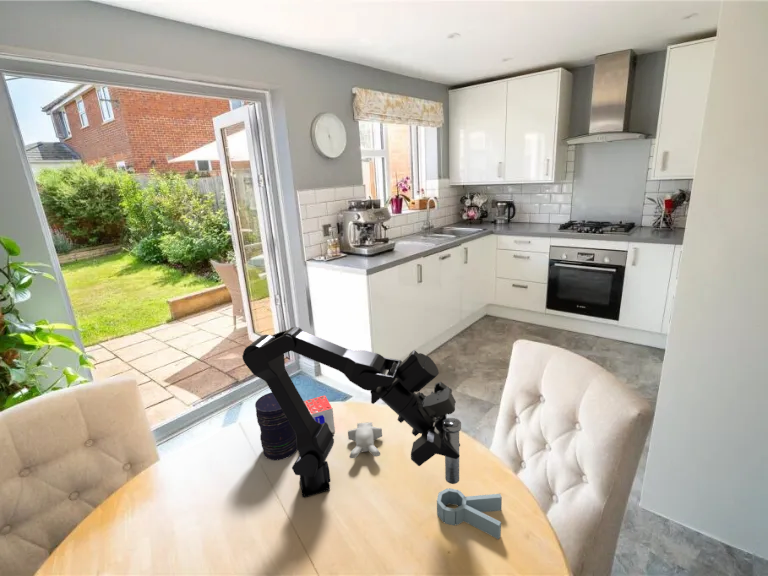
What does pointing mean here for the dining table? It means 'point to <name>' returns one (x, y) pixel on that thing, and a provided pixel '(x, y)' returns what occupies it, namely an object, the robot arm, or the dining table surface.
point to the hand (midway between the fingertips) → (458, 452)
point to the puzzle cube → (321, 411)
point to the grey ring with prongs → (470, 510)
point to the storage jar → (274, 429)
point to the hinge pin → (452, 436)
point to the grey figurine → (364, 439)
